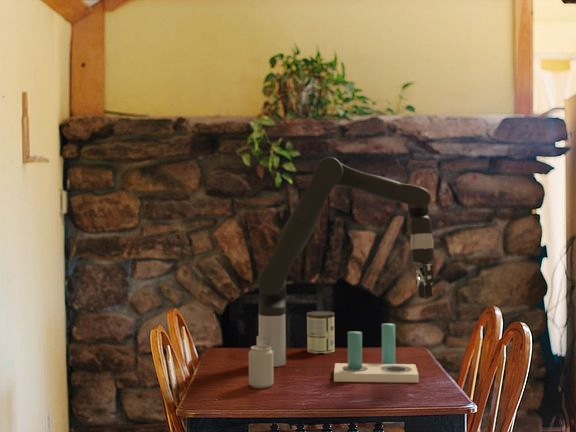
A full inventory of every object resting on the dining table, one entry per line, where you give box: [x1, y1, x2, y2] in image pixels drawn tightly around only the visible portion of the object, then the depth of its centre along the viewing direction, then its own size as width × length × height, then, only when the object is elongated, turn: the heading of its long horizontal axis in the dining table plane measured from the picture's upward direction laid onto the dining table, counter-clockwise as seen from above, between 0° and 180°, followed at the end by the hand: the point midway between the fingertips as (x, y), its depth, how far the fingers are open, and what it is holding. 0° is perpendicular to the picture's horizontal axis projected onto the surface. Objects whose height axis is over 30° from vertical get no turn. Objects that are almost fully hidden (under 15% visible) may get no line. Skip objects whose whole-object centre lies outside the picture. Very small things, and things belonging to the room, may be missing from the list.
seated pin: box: [347, 330, 363, 370], centre depth 245 cm, size 4×4×14 cm
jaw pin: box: [381, 322, 396, 364], centre depth 260 cm, size 4×4×14 cm
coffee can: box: [306, 310, 335, 354], centre depth 285 cm, size 10×10×14 cm
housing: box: [333, 362, 420, 384], centre depth 245 cm, size 14×26×3 cm, turn 85°
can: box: [248, 344, 274, 389], centre depth 234 cm, size 8×8×12 cm
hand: (425, 297), depth 253 cm, fingers open, 8 cm apart
